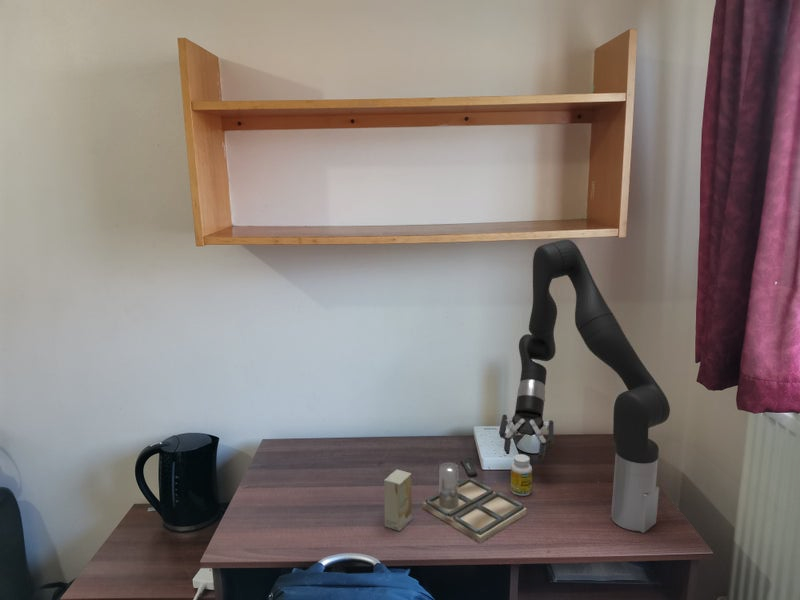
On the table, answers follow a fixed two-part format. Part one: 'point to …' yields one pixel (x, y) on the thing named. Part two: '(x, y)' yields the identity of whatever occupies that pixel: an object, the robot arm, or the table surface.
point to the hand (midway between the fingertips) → (523, 455)
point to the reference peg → (449, 485)
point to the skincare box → (398, 499)
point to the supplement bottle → (521, 475)
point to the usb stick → (468, 467)
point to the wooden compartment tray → (478, 510)
